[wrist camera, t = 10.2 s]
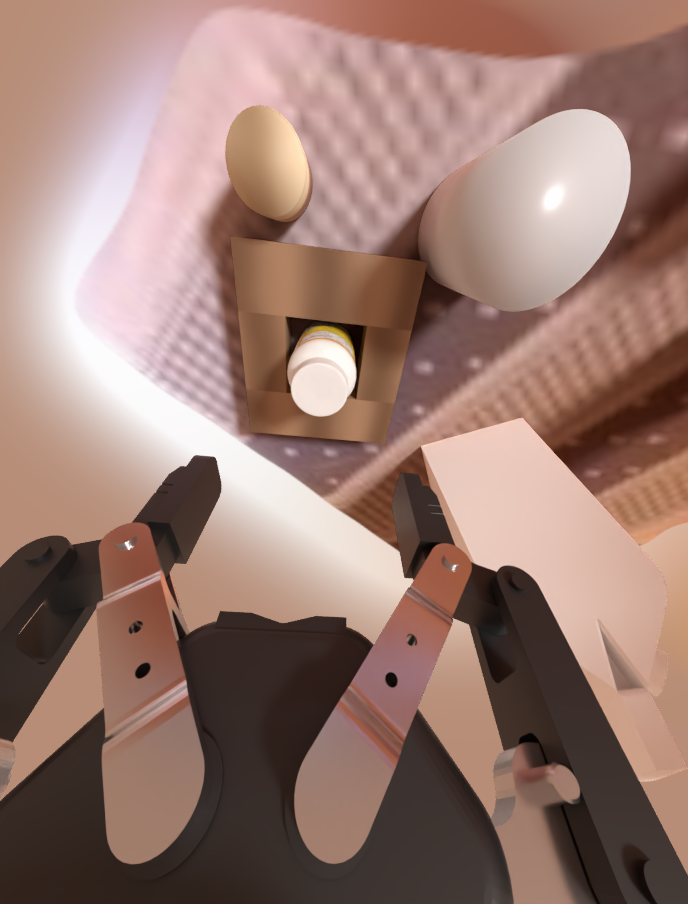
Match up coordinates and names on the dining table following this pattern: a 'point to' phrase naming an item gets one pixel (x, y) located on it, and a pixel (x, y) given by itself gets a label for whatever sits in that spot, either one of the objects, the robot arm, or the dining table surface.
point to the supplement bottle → (322, 369)
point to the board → (327, 299)
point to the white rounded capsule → (529, 212)
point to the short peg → (268, 164)
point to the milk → (566, 571)
